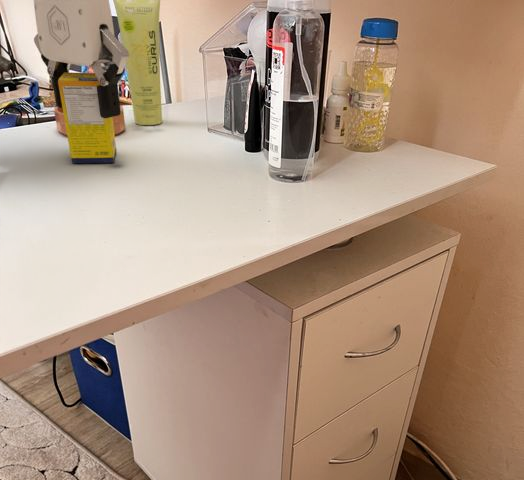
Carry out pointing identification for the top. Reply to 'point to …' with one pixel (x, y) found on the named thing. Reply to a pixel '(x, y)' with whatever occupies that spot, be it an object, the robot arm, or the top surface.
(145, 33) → the tube
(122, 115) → the shallow terracotta bowl
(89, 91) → the supplement box
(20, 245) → the top surface
